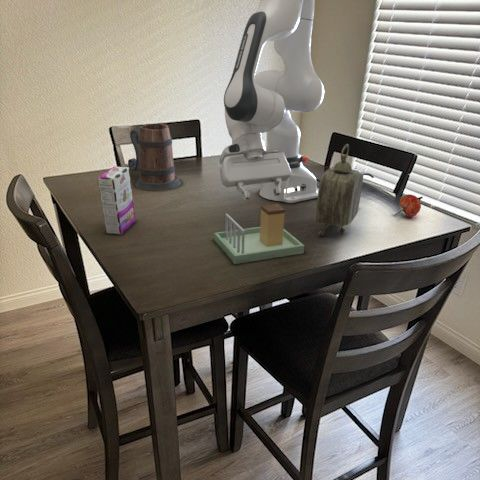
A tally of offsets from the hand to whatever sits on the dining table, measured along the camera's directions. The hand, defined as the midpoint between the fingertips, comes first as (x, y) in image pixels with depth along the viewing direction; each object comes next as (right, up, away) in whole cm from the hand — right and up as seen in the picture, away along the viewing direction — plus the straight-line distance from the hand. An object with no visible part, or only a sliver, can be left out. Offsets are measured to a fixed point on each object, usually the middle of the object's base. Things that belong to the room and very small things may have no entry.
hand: (262, 196), depth 133 cm
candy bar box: (-42, -7, +9) cm, 43 cm away
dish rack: (-1, -14, -1) cm, 14 cm away
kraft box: (+2, -13, 0) cm, 13 cm away
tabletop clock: (+22, -8, +9) cm, 25 cm away
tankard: (-39, +17, +47) cm, 63 cm away
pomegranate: (+47, -1, +22) cm, 52 cm away
